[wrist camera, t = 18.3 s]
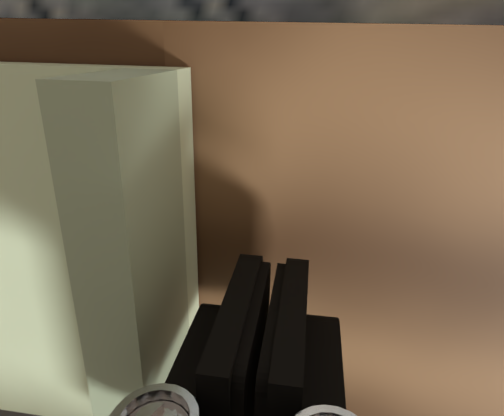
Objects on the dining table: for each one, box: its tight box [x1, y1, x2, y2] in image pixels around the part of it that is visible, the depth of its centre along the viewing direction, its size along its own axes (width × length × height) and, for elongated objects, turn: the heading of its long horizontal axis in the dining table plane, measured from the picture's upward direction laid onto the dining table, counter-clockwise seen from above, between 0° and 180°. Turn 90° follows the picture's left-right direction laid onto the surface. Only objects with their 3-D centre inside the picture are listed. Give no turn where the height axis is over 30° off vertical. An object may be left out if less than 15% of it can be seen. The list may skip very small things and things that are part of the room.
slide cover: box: [0, 62, 199, 416], centre depth 10 cm, size 11×9×4 cm
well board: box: [0, 18, 504, 416], centre depth 12 cm, size 13×26×2 cm, turn 89°
